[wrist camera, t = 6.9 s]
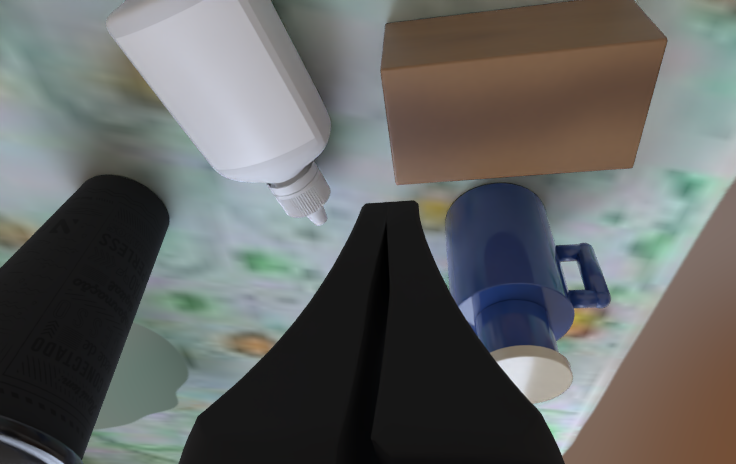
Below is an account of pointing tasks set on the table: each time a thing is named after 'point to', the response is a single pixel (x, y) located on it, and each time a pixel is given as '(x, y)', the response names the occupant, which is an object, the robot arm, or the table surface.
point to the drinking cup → (72, 316)
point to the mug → (518, 284)
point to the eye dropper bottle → (234, 91)
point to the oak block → (519, 90)
